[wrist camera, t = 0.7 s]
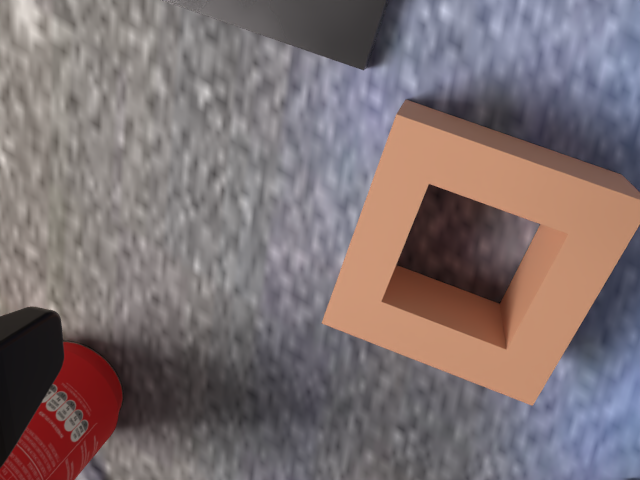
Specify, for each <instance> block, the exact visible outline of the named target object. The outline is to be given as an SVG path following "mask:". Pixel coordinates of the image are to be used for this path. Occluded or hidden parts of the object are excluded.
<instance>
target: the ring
mask: <svg viewBox="0 0 640 480" xmlns="http://www.w3.org/2000/svg"><path fill="white" fill-rule="evenodd" d="M429 184H431V185H434V186H437V187H439V188H442V189H445V190H448V191H450V192H453V193H456V194H459V195H461V196H464V197H467V198H470V199H473V200H475V201H478V202H481V203H484V204H486V205H489V206H492V207H495V208H497V209H500V210H503V211H506V212H509V213H511V214H514V215H517V216H520V217H522V218H525V219H528V220H531V221H533V222H536V223H539V224H540V226H539V228H538V230H537V232H536V234H535V236H534V238H533V240H532V242H531V244H530V246H529V248H528V250H527V252H526V254H525V255H524V257H523V259H522V261H521V263H520V265H519V267H518V269H517V271H516V273H515V275H514V277H513V279H512V281H511V283H510V285H509V287H508V289H507V291H506V293H505V295H504V297H503V299H502V301H501V303H500V304H499V303H496V302H494V301H491V300H488V299H486V298H483V297H480V296H478V295H475V294H472V293H470V292H467V291H464V290H462V289H459V288H456V287H454V286H451V285H448V284H446V283H443V282H440V281H438V280H435V279H432V278H430V277H427V276H424V275H422V274H419V273H416V272H414V271H411V270H408V269H406V268H403V267H400V266H398V265H396V264H397V262H398V259H399V257H400V254H401V252H402V249H403V247H404V244H405V242H406V239H407V237H408V234H409V232H410V229H411V227H412V224H413V222H414V219H415V217H416V215H417V212H418V210H419V207H420V205H421V202H422V200H423V197H424V195H425V192H426V190H427V187H428V185H429ZM639 225H640V192H639V191H638V190H637V189H636V188H635V187H634V186H633V185H632V184H631V183H630V182H629V181H628V180H627V179H626V178H625V177H624V176H623V175H621V174H618V173H616V172H613V171H610V170H607V169H604V168H601V167H598V166H595V165H593V164H590V163H587V162H584V161H581V160H578V159H575V158H572V157H570V156H567V155H564V154H561V153H558V152H555V151H552V150H550V149H547V148H544V147H541V146H538V145H535V144H532V143H529V142H527V141H524V140H521V139H518V138H515V137H512V136H509V135H506V134H504V133H501V132H498V131H495V130H492V129H489V128H486V127H484V126H481V125H478V124H475V123H472V122H469V121H466V120H463V119H461V118H458V117H455V116H452V115H449V114H446V113H443V112H440V111H438V110H435V109H432V108H429V107H426V106H423V105H420V104H418V103H415V102H412V101H409V100H405V101H404V103H403V105H402V106H401V108H400V109H399V111H398V113H397V114H396V117H395V120H394V123H393V125H392V128H391V131H390V134H389V137H388V139H387V142H386V145H385V148H384V151H383V153H382V156H381V159H380V162H379V165H378V167H377V170H376V173H375V176H374V178H373V181H372V184H371V187H370V190H369V192H368V195H367V198H366V201H365V204H364V206H363V209H362V212H361V215H360V218H359V220H358V223H357V226H356V229H355V232H354V234H353V237H352V240H351V243H350V245H349V248H348V251H347V254H346V257H345V259H344V262H343V265H342V268H341V271H340V273H339V276H338V279H337V282H336V285H335V287H334V290H333V293H332V296H331V299H330V301H329V304H328V307H327V310H326V312H325V315H324V318H323V321H322V324H325V325H327V326H330V327H332V328H335V329H337V330H340V331H343V332H345V333H348V334H350V335H353V336H355V337H358V338H360V339H363V340H366V341H368V342H371V343H373V344H376V345H378V346H381V347H384V348H386V349H389V350H391V351H394V352H396V353H399V354H401V355H404V356H407V357H409V358H412V359H414V360H417V361H419V362H422V363H425V364H427V365H430V366H432V367H435V368H437V369H440V370H442V371H445V372H448V373H450V374H453V375H455V376H458V377H460V378H463V379H466V380H468V381H471V382H473V383H476V384H478V385H481V386H483V387H486V388H489V389H491V390H494V391H496V392H499V393H501V394H504V395H506V396H509V397H512V398H514V399H517V400H519V401H522V402H524V403H527V404H530V405H532V406H533V404H534V403H535V401H536V399H537V397H538V396H539V394H540V392H541V391H542V389H543V387H544V386H545V384H546V382H547V381H548V379H549V377H550V375H551V374H552V372H553V370H554V369H555V367H556V365H557V364H558V362H559V360H560V359H561V357H562V355H563V353H564V352H565V350H566V348H567V347H568V345H569V343H570V342H571V340H572V338H573V337H574V335H575V333H576V331H577V330H578V328H579V326H580V325H581V323H582V321H583V320H584V318H585V316H586V315H587V313H588V311H589V309H590V308H591V306H592V304H593V303H594V301H595V299H596V298H597V296H598V294H599V293H600V291H601V289H602V287H603V286H604V284H605V282H606V281H607V279H608V277H609V276H610V274H611V272H612V271H613V269H614V267H615V265H616V264H617V262H618V260H619V259H620V257H621V255H622V254H623V252H624V250H625V249H626V247H627V245H628V243H629V242H630V240H631V238H632V237H633V235H634V233H635V232H636V230H637V228H638V227H639Z"/></svg>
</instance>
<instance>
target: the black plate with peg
mask: <svg viewBox="0 0 640 480" xmlns="http://www.w3.org/2000/svg"><path fill="white" fill-rule="evenodd" d="M162 1H165V2H168V3H171V4H174V5H177V6H180V7H182V8H185V9H188V10H191V11H194V12H197V13H200V14H203V15H206V16H208V17H211V18H214V19H217V20H220V21H223V22H226V23H229V24H232V25H234V26H237V27H240V28H243V29H246V30H249V31H252V32H255V33H258V34H260V35H263V36H266V37H269V38H272V39H275V40H278V41H281V42H284V43H286V44H289V45H292V46H295V47H298V48H301V49H304V50H307V51H310V52H313V53H315V54H318V55H321V56H324V57H327V58H330V59H333V60H336V61H339V62H341V63H344V64H347V65H350V66H353V67H356V68H359V69H362V70H365V69H366V68H367V65H368V62H369V59H370V56H371V53H372V50H373V47H374V44H375V40H376V37H377V34H378V31H379V28H380V25H381V22H382V19H383V16H384V13H385V10H386V7H387V3H388V0H162Z"/></svg>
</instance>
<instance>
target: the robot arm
mask: <svg viewBox="0 0 640 480" xmlns="http://www.w3.org/2000/svg"><path fill="white" fill-rule="evenodd" d="M63 362H64V345H63V335H62V326H61V319H60V316H59V314H58V313H57V312H55V311H53V310H48V309H43V308H38V307H27V308H24V309H21V310H18V311H15V312H12V313H9V314H6V315H3V316H0V468H1V467H2V466H3V464H4V463H5V461H6V460H7V459H8V457H9V455H10V454H11V452H12V451H13V449H14V448H15V446H16V444H17V443H18V441H19V439H20V438H21V436H22V434H23V433H24V431H25V429H26V428H27V426H28V424H29V423H30V421H31V419H32V418H33V416H34V414H35V413H36V411H37V409H38V408H39V406H40V404H41V403H42V401H43V399H44V398H45V396H46V394H47V393H48V391H49V389H50V388H51V386H52V384H53V383H54V381H55V379H56V378H57V376H58V374H59V372H60V371H61V368H62V366H63Z"/></svg>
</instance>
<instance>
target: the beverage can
mask: <svg viewBox="0 0 640 480" xmlns="http://www.w3.org/2000/svg"><path fill="white" fill-rule="evenodd" d="M63 345H64V362H63V366H62V368H61V371H60V372H59V374H58V376H57V378H56V379H55V381H54V383H53V384H52V386H51V388H50V389H49V391H48V393H47V394H46V396H45V398H44V399H43V401H42V403H41V404H40V406H39V408H38V409H37V411H36V413H35V414H34V416H33V418H32V419H31V421H30V423H29V424H28V426H27V428H26V429H25V431H24V433H23V434H22V436H21V438H20V439H19V441H18V443H17V444H16V446H15V448H14V449H13V451H12V452H11V454H10V455H9V457H8V459H7V460H6V461H5V463H4V464H3V466H2V467H1V468H0V480H74V479H75V478H76V477H77V476H78V475H79V473H80V472H81V471H82V470H83V469H84V467H85V466H86V465H87V464H88V463H89V461H90V460H91V459H92V458H93V456H94V455H95V454H96V453H97V452H98V450H99V449H100V448H101V447H102V446H103V444H104V443H105V442H106V441H107V439H108V438H109V437H110V436H111V435H112V433H113V432H114V430H115V427H116V425H117V421H118V414H119V411H120V409H121V406H122V403H123V388H122V384H121V381H120V379H119V376H118V375H117V373H116V371H115V370H114V368H113V367H112V366H111V364H110V363H109V362H108V361H107V360H106V359H105V358H104V357H103V356H102V355H100V354H99V353H98V352H96V351H95V350H93V349H91V348H89V347H87V346H85V345H83V344H80V343H76V342H70V341H63Z"/></svg>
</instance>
